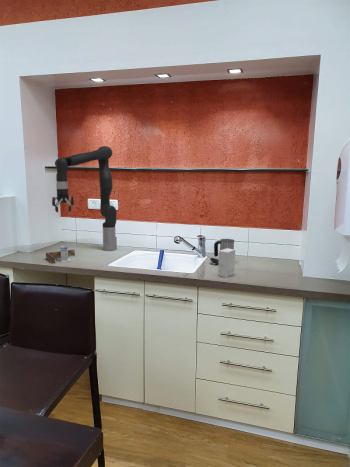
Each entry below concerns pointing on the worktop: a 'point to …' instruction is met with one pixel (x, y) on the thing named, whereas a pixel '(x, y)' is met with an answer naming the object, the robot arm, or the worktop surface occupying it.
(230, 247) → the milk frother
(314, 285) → the worktop surface
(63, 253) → the medicine box
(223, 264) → the skincare box
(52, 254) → the brown piece
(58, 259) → the pad
